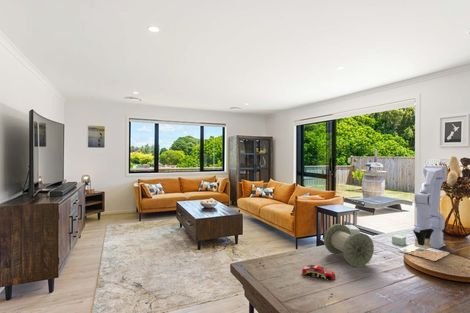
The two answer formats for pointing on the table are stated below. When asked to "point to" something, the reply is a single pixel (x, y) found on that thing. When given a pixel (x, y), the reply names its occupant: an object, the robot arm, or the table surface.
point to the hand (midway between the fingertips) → (423, 243)
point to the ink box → (352, 229)
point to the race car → (318, 272)
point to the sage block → (399, 240)
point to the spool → (349, 244)
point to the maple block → (426, 244)
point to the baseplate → (418, 249)
